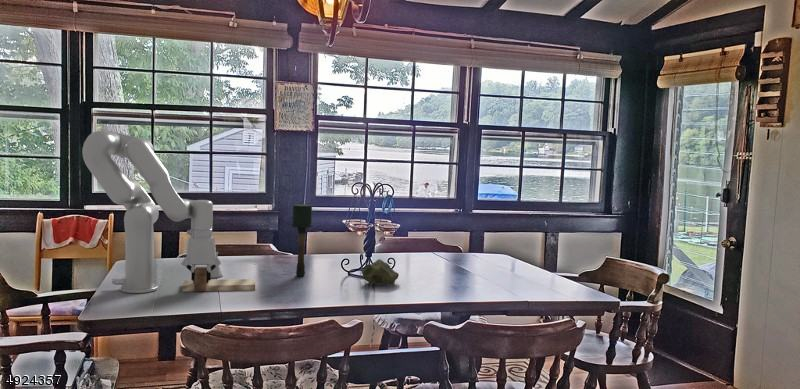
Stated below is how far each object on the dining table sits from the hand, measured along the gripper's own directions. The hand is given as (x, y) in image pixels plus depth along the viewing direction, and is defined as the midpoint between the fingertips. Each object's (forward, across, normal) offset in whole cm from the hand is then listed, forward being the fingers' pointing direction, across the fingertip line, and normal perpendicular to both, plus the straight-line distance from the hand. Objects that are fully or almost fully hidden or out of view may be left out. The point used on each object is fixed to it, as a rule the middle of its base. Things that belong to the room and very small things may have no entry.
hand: (201, 281), depth 224 cm
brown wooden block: (+2, 0, +3) cm, 4 cm away
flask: (+3, +4, +22) cm, 23 cm away
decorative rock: (+3, +70, +3) cm, 70 cm away
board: (+3, +7, +2) cm, 7 cm away
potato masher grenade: (+3, +39, +21) cm, 44 cm away
